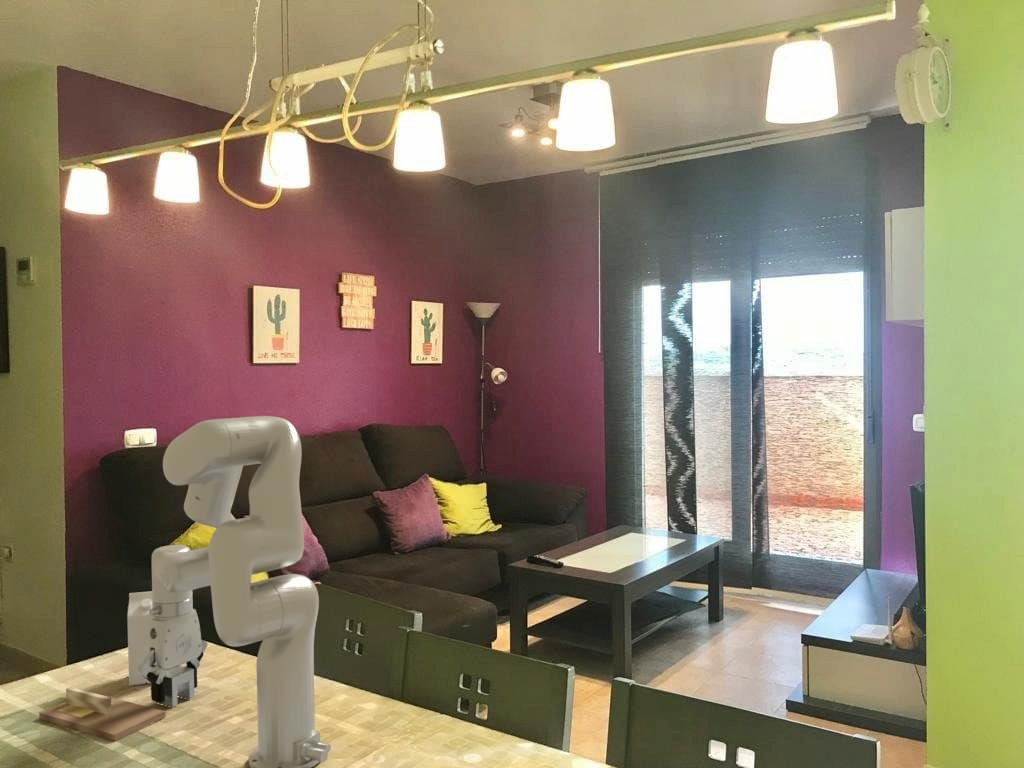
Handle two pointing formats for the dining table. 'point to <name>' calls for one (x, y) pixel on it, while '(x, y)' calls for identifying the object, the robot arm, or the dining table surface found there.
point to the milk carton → (138, 633)
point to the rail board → (101, 714)
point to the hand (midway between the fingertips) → (174, 693)
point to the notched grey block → (178, 685)
